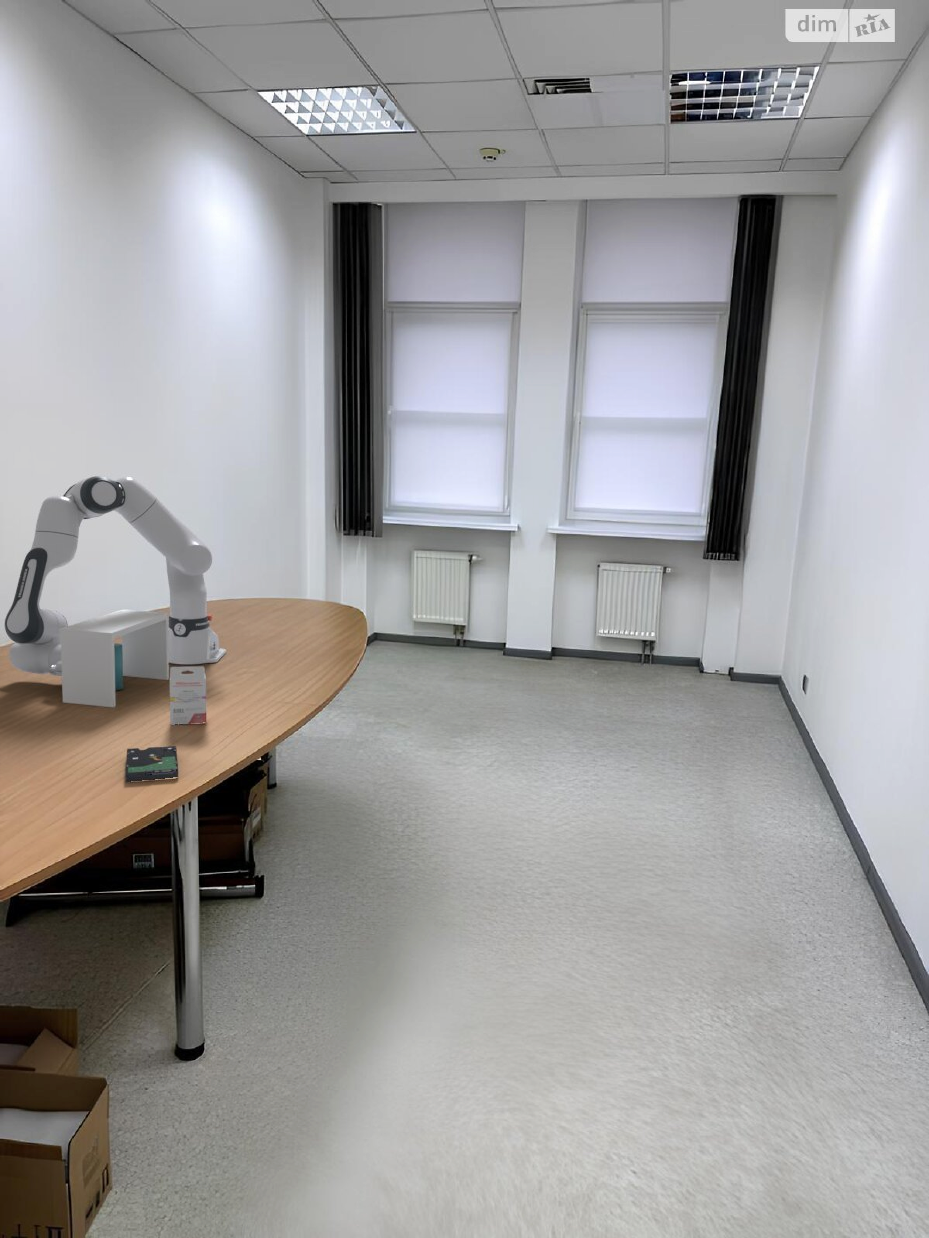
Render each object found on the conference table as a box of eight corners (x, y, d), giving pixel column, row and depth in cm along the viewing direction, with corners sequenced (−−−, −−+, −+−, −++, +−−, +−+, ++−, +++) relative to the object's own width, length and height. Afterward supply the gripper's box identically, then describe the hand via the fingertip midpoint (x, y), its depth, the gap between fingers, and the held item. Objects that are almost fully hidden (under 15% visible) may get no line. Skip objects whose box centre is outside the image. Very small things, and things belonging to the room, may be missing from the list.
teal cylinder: (108, 684, 239) (107, 642, 237) (127, 686, 239) (126, 644, 237) (97, 689, 234) (96, 646, 232) (116, 691, 233) (115, 648, 231)
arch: (123, 674, 252) (122, 609, 248) (168, 678, 250) (168, 613, 246) (62, 702, 222) (60, 628, 219) (113, 707, 221) (111, 633, 217)
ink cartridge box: (206, 718, 216) (206, 661, 214) (206, 724, 212) (206, 666, 209) (170, 719, 214) (170, 662, 211) (169, 725, 209) (169, 667, 206)
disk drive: (126, 760, 187) (125, 785, 173) (125, 748, 186) (125, 772, 172) (176, 757, 190) (179, 780, 177) (176, 745, 190) (179, 768, 176)
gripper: (44, 658, 226) (93, 662, 224) (88, 642, 246) (133, 646, 244) (45, 681, 227) (93, 685, 226) (89, 663, 247) (134, 667, 245)
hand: (115, 665), depth 235 cm, fingers closed on teal cylinder, 6 cm apart
